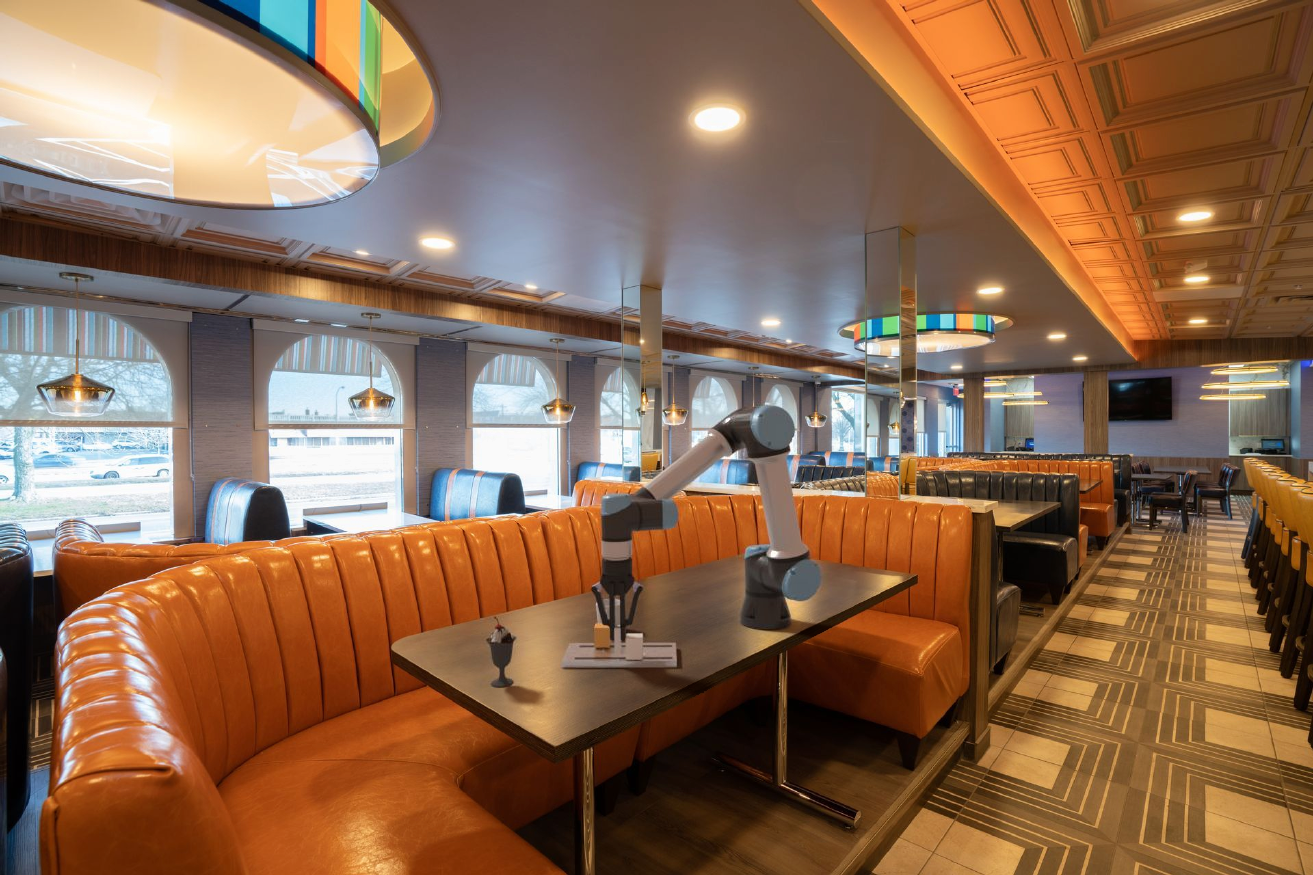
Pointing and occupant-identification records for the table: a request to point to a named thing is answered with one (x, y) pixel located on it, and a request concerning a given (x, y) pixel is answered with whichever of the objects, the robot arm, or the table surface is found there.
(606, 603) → the cup
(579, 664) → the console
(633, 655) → the block
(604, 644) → the fader
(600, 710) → the table surface
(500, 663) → the sundae
